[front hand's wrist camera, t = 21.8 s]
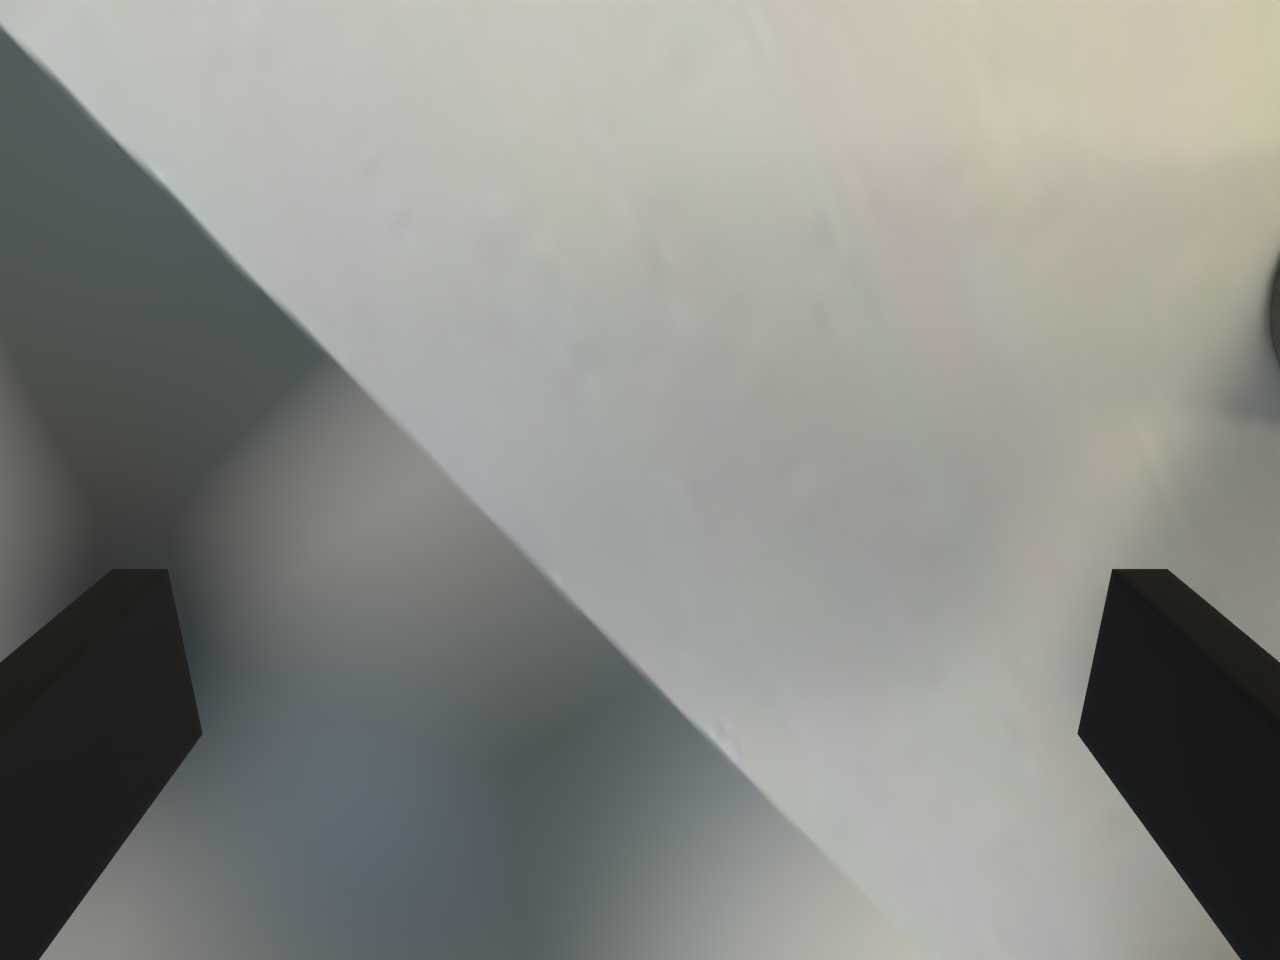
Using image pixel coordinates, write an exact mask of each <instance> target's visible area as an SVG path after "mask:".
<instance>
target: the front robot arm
mask: <svg viewBox="0 0 1280 960" xmlns="http://www.w3.org/2000/svg"><path fill="white" fill-rule="evenodd" d="M1271 328H1272V337H1273V343H1274V348H1275V352H1276V355H1277V358H1278V361H1279V363H1280V269H1279V272H1278V275H1277V279H1276V283H1275V288H1274V293H1273V300H1272V309H1271ZM201 735H202V730H201V725H200V720H199V715H198V711H197V706H196V701H195V696H194V692H193V687H192V682H191V677H190V673H189V668H188V663H187V658H186V654H185V649H184V644H183V640H182V635H181V630H180V625H179V621H178V616H177V611H176V607H175V602H174V597H173V592H172V587H171V583H170V578H169V573H168V569H112V570H111V571H110V572H108V573H107V574H106V575H105V576H104V577H103V578H101V579H100V580H99V581H98V582H96V583H95V584H94V585H93V586H92V587H90V588H89V589H88V590H87V591H86V592H84V593H83V594H82V595H81V596H80V597H78V598H77V599H76V600H75V601H74V602H72V603H71V604H70V605H69V606H68V607H66V608H65V609H64V610H63V611H62V612H60V613H59V614H58V615H57V616H56V617H54V618H53V619H52V620H51V621H50V622H48V623H47V624H46V625H45V626H44V627H42V628H41V629H40V630H39V631H38V632H36V633H35V634H34V635H33V636H32V637H30V638H29V639H28V640H27V641H26V642H24V643H23V644H22V645H21V646H20V647H18V648H17V649H16V650H15V651H14V652H12V653H11V654H10V655H9V656H8V657H6V658H5V659H4V660H3V661H2V662H0V960H39V959H40V957H41V956H42V955H43V953H44V952H45V951H46V949H47V948H48V946H49V945H50V944H51V942H52V941H53V940H54V938H55V937H56V935H57V934H58V933H59V931H60V930H61V928H62V927H63V926H64V924H65V923H66V921H67V920H68V919H69V917H70V916H71V915H72V913H73V912H74V911H75V909H76V908H77V906H78V905H79V904H80V902H81V901H82V900H83V898H84V897H85V895H86V894H87V893H88V891H89V890H90V888H91V887H92V886H93V884H94V883H95V882H96V880H97V879H98V877H99V876H100V875H101V873H102V872H103V871H104V869H105V868H106V866H107V865H108V864H109V862H110V861H111V859H112V858H113V857H114V855H115V854H116V853H117V851H118V850H119V848H120V847H121V846H122V844H123V843H124V842H125V840H126V839H127V837H128V836H129V835H130V833H131V832H132V830H133V829H134V828H135V826H136V825H137V824H138V822H139V821H140V819H141V818H142V817H143V815H144V814H145V813H146V811H147V810H148V808H149V807H150V806H151V804H152V803H153V801H154V800H155V799H156V797H157V796H158V795H159V793H160V792H161V790H162V789H163V788H164V786H165V785H166V784H167V782H168V781H169V779H170V778H171V777H172V775H173V774H174V773H175V771H176V770H177V768H178V767H179V766H180V764H181V763H182V761H183V760H184V759H185V757H186V756H187V755H188V753H189V752H190V750H191V749H192V748H193V746H194V745H195V744H196V742H197V741H198V739H199V738H200V737H201ZM1078 735H1079V737H1080V738H1081V739H1082V741H1083V742H1084V744H1085V745H1086V746H1087V748H1088V749H1089V750H1090V752H1091V753H1092V755H1093V756H1094V757H1095V759H1096V760H1097V761H1098V763H1099V764H1100V766H1101V767H1102V768H1103V770H1104V771H1105V773H1106V774H1107V775H1108V777H1109V778H1110V779H1111V781H1112V782H1113V784H1114V785H1115V786H1116V788H1117V789H1118V790H1119V792H1120V793H1121V795H1122V796H1123V797H1124V799H1125V800H1126V802H1127V803H1128V804H1129V806H1130V807H1131V808H1132V810H1133V811H1134V813H1135V814H1136V815H1137V817H1138V818H1139V819H1140V821H1141V822H1142V824H1143V825H1144V826H1145V828H1146V829H1147V830H1148V832H1149V833H1150V835H1151V836H1152V837H1153V839H1154V840H1155V842H1156V843H1157V844H1158V846H1159V847H1160V848H1161V850H1162V851H1163V853H1164V854H1165V855H1166V857H1167V858H1168V859H1169V861H1170V862H1171V864H1172V865H1173V866H1174V868H1175V869H1176V871H1177V872H1178V873H1179V875H1180V876H1181V877H1182V879H1183V880H1184V882H1185V883H1186V884H1187V886H1188V887H1189V888H1190V890H1191V891H1192V893H1193V894H1194V895H1195V897H1196V898H1197V900H1198V901H1199V902H1200V904H1201V905H1202V906H1203V908H1204V909H1205V911H1206V912H1207V913H1208V915H1209V916H1210V917H1211V919H1212V920H1213V922H1214V923H1215V924H1216V926H1217V927H1218V928H1219V930H1220V931H1221V933H1222V934H1223V935H1224V937H1225V938H1226V940H1227V941H1228V942H1229V944H1230V945H1231V946H1232V948H1233V949H1234V951H1235V952H1236V953H1237V955H1238V956H1239V957H1240V959H1241V960H1280V662H1278V661H1277V660H1276V659H1275V658H1274V657H1272V656H1271V655H1270V654H1269V653H1268V652H1266V651H1265V650H1264V649H1263V648H1262V647H1260V646H1259V645H1258V644H1257V643H1256V642H1254V641H1253V640H1252V639H1251V638H1250V637H1248V636H1247V635H1246V634H1245V633H1244V632H1242V631H1241V630H1240V629H1239V628H1238V627H1236V626H1235V625H1234V624H1233V623H1232V622H1230V621H1229V620H1228V619H1227V618H1226V617H1224V616H1223V615H1222V614H1221V613H1220V612H1218V611H1217V610H1216V609H1215V608H1214V607H1212V606H1211V605H1210V604H1209V603H1208V602H1206V601H1205V600H1204V599H1203V598H1202V597H1200V596H1199V595H1198V594H1197V593H1196V592H1194V591H1193V590H1192V589H1191V588H1190V587H1188V586H1187V585H1186V584H1185V583H1184V582H1182V581H1181V580H1180V579H1179V578H1178V577H1176V576H1175V575H1174V574H1173V573H1172V572H1170V571H1169V570H1168V569H1112V573H1111V578H1110V583H1109V587H1108V592H1107V597H1106V602H1105V606H1104V611H1103V616H1102V621H1101V625H1100V630H1099V635H1098V639H1097V644H1096V649H1095V654H1094V658H1093V663H1092V668H1091V673H1090V677H1089V682H1088V687H1087V692H1086V696H1085V701H1084V706H1083V710H1082V715H1081V720H1080V725H1079V729H1078Z"/></svg>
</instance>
